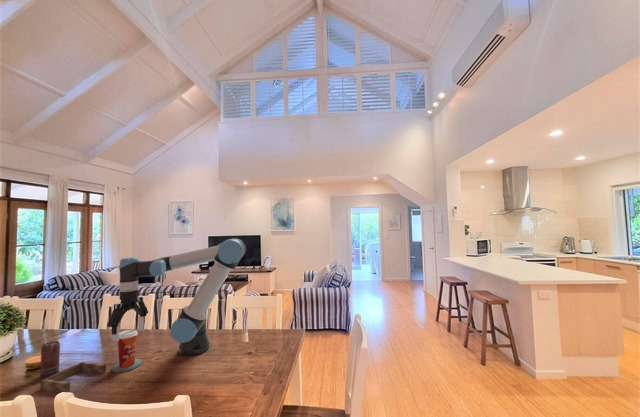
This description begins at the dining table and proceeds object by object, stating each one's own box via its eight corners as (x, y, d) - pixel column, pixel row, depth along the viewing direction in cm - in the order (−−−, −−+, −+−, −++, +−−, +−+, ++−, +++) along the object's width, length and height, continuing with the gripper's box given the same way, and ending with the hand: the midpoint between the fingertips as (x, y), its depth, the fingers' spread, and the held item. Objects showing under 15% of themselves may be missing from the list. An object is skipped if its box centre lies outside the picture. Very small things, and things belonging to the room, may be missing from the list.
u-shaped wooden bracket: (106, 372, 129) (106, 364, 129) (66, 393, 113) (66, 384, 113) (82, 369, 132) (82, 361, 132) (40, 389, 116) (40, 380, 116)
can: (42, 380, 123) (44, 347, 123) (38, 376, 126) (39, 344, 127) (61, 374, 128) (62, 342, 129) (56, 370, 131) (57, 339, 132)
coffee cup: (126, 369, 130) (127, 336, 131) (111, 368, 131) (112, 335, 132) (141, 361, 138) (142, 329, 139) (127, 359, 139) (128, 328, 140)
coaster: (148, 361, 139) (148, 359, 139) (126, 373, 127) (126, 372, 127) (127, 359, 142) (127, 357, 142) (104, 371, 130) (104, 369, 130)
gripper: (143, 284, 150) (144, 325, 148) (97, 296, 125) (96, 345, 124) (155, 284, 148) (156, 326, 147) (111, 296, 124) (110, 346, 122)
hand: (129, 335), depth 135 cm, fingers open, 13 cm apart
